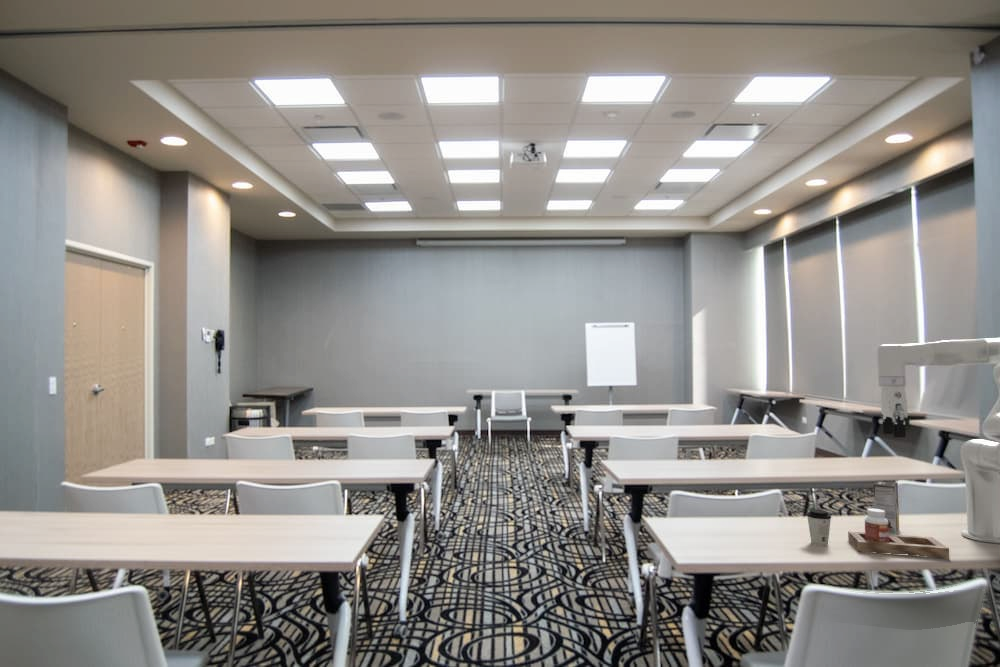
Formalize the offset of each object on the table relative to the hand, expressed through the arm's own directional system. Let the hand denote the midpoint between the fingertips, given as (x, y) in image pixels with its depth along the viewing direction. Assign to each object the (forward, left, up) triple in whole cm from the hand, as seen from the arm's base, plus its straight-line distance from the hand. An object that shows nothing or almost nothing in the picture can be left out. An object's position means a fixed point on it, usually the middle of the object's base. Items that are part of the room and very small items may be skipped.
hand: (894, 435), depth 194 cm
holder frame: (+4, +12, -33) cm, 35 cm away
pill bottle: (+9, +12, -33) cm, 36 cm away
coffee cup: (+25, +12, -33) cm, 43 cm away
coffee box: (0, -10, -33) cm, 35 cm away
